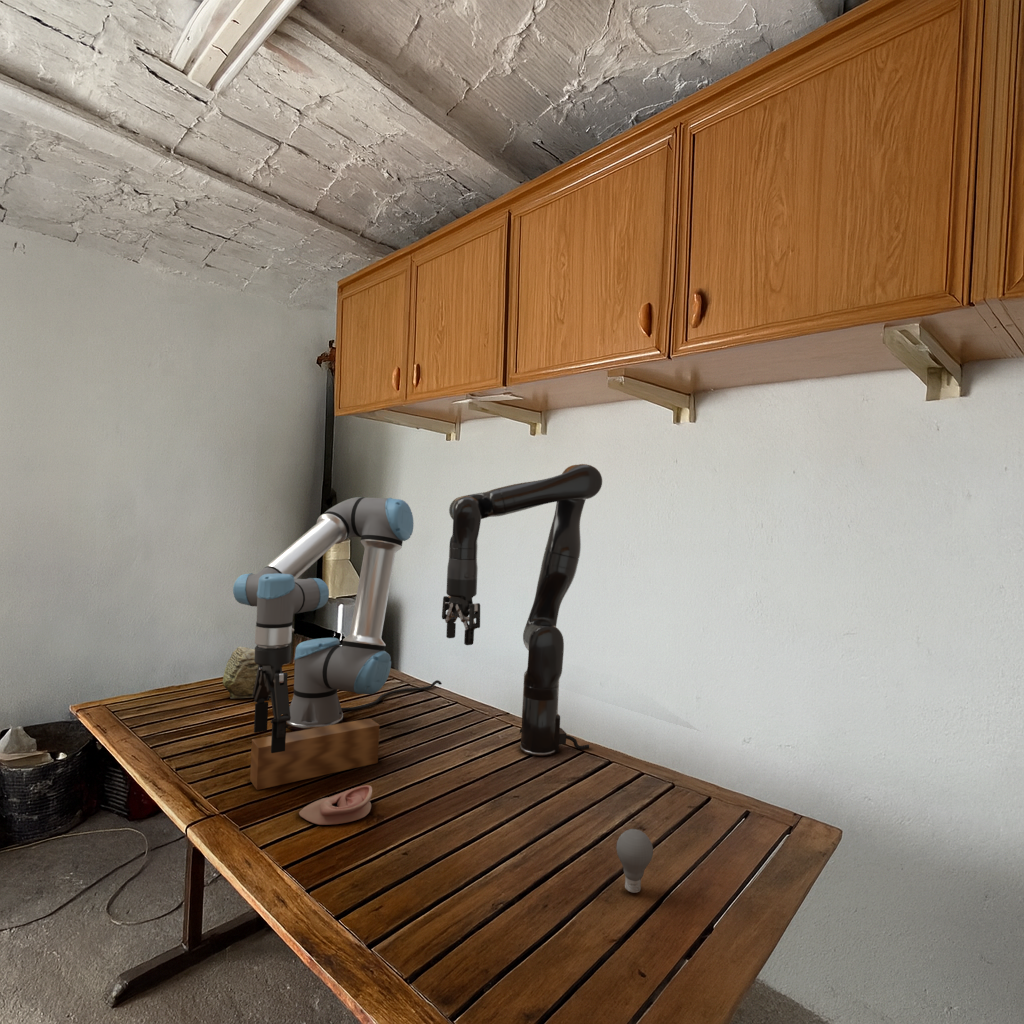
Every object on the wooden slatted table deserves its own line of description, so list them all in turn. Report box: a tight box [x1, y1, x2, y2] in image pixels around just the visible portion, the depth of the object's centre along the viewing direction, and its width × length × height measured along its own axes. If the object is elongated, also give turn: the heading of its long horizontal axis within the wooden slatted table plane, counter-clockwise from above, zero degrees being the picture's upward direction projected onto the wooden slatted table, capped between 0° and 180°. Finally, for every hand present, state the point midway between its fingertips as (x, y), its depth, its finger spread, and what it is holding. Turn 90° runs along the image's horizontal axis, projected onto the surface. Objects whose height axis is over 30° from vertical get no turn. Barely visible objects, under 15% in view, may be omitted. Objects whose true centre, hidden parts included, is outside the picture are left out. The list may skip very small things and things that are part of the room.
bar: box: [249, 717, 380, 791], centre depth 146 cm, size 28×6×9 cm, turn 126°
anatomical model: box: [298, 784, 373, 826], centre depth 127 cm, size 13×4×12 cm
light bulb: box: [615, 828, 654, 894], centre depth 106 cm, size 6×6×10 cm
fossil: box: [222, 646, 270, 699], centre depth 198 cm, size 9×18×15 cm, turn 132°
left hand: (268, 741), depth 139 cm, fingers open, 13 cm apart
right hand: (459, 641), depth 158 cm, fingers open, 8 cm apart
